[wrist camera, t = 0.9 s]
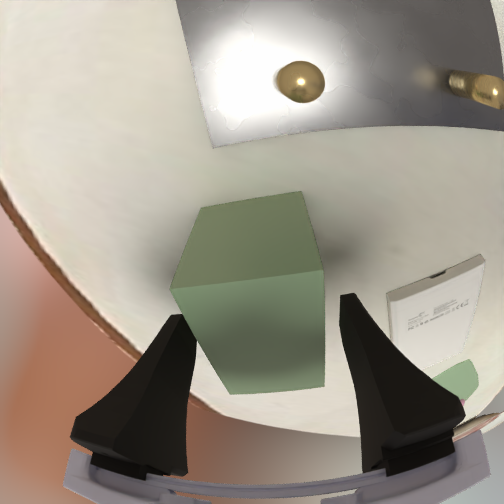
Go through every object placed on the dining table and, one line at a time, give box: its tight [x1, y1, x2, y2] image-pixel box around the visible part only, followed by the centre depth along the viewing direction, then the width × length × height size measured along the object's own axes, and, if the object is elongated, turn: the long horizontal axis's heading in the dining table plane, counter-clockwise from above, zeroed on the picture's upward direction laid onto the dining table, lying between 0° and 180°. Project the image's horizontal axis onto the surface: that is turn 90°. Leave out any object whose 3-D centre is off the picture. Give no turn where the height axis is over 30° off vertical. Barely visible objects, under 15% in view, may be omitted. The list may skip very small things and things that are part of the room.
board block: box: [170, 191, 325, 395], centre depth 13 cm, size 5×8×6 cm, turn 11°
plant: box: [433, 359, 479, 405], centre depth 28 cm, size 25×21×9 cm
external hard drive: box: [386, 254, 485, 370], centre depth 19 cm, size 2×8×12 cm
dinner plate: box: [452, 413, 500, 442], centre depth 50 cm, size 27×27×3 cm
